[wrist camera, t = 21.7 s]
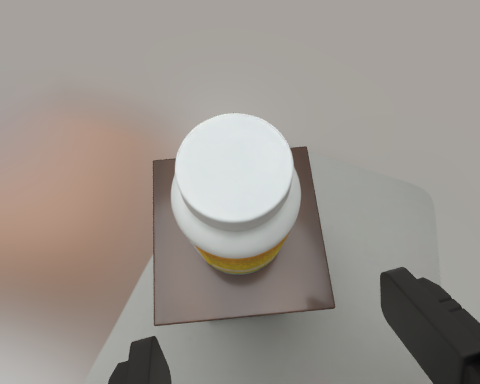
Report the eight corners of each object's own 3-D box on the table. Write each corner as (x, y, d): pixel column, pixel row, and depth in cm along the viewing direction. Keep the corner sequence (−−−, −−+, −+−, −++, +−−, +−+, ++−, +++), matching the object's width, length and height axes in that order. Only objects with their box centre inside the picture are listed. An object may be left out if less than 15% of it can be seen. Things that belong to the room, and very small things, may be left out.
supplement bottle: (175, 226, 21) (120, 155, 12) (243, 171, 22) (240, 68, 13) (234, 296, 19) (222, 280, 10) (303, 234, 20) (348, 169, 11)
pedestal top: (302, 159, 24) (307, 145, 22) (327, 309, 21) (335, 308, 19) (160, 172, 24) (152, 159, 22) (162, 325, 21) (153, 326, 19)
